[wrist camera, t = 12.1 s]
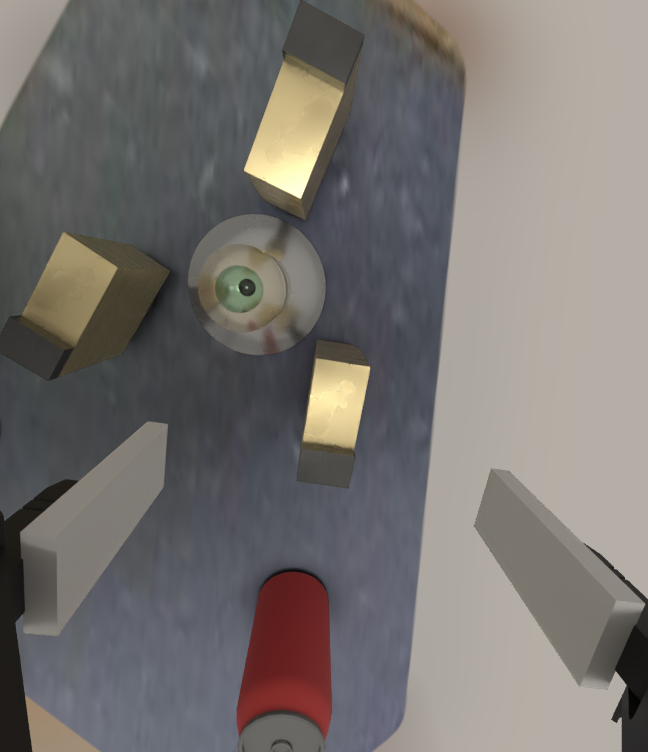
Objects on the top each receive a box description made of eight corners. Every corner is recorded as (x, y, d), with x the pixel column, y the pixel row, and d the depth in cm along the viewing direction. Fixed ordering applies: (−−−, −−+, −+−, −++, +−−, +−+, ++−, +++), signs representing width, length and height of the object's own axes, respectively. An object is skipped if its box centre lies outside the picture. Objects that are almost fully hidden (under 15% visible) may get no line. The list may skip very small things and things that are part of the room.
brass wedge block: (317, 339, 27) (316, 361, 20) (357, 345, 28) (372, 370, 20) (302, 429, 29) (296, 480, 22) (341, 434, 29) (348, 488, 22)
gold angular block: (131, 245, 26) (52, 229, 18) (170, 271, 26) (109, 267, 19) (84, 329, 27) (-7, 348, 19) (122, 353, 27) (47, 381, 20)
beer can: (258, 624, 36) (230, 785, 25) (258, 566, 35) (227, 709, 23) (327, 626, 37) (331, 786, 25) (330, 567, 35) (335, 711, 23)
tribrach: (125, 306, 29) (52, 315, 21) (193, 94, 26) (137, 10, 18) (334, 396, 31) (340, 435, 23) (423, 209, 28) (465, 180, 20)
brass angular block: (305, 220, 25) (299, 195, 18) (264, 200, 25) (240, 166, 18) (350, 112, 24) (364, 34, 16) (306, 89, 24) (300, -1, 16)
